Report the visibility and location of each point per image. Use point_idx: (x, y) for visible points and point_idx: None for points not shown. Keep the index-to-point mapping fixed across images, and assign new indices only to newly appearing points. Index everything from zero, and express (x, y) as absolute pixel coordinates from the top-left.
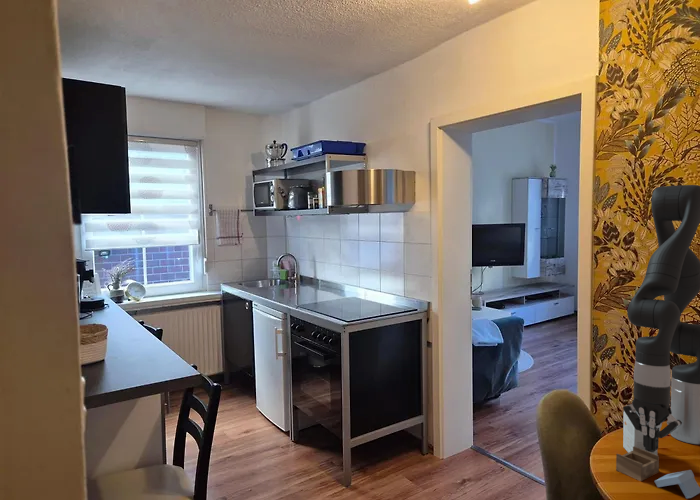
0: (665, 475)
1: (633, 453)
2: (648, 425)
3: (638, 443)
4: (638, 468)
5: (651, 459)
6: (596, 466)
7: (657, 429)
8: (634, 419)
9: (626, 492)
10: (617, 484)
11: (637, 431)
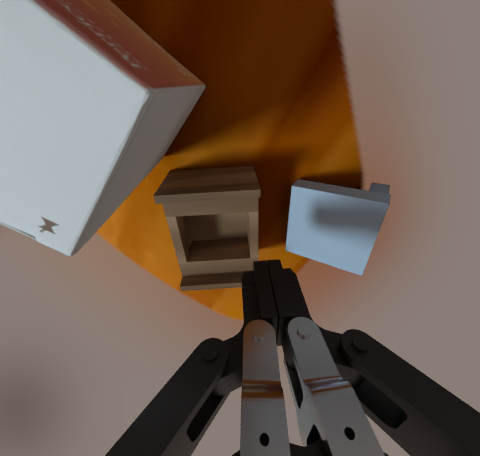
0: (292, 202)
1: (180, 215)
2: (260, 379)
3: (147, 171)
4: None
5: (242, 204)
6: (155, 274)
7: (320, 368)
8: (196, 445)
9: None
10: (234, 294)
11: (118, 205)
